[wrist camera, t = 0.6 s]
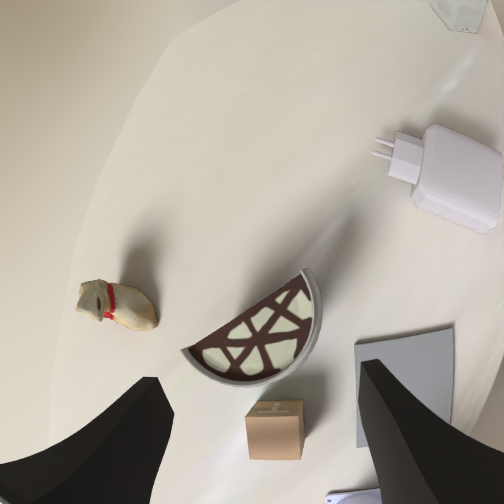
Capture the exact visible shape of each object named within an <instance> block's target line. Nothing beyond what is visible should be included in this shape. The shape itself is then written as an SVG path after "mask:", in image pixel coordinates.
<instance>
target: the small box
mask: <svg viewBox="0 0 504 504" xmlns="http://www.w3.org/2000/svg"><path fill="white" fill-rule="evenodd" d="M487 1H488V0H430V2H429V5H430V6H431V7H432V9H433V10H434V11H435V12H436V13H437V14H438V16H439V17H440V18H441V19H442V21H443V22H444V23H445V24H446V26H447V27H448V28H449V30H454V31H463V32H470V33H477V31H478V28H479V25H480V22H481V19H482V17H483V14H484V11H485V8H486V5H487Z"/></svg>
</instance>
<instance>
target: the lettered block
mask: <svg viewBox="0 0 504 504" xmlns="http://www.w3.org/2000/svg"><path fill="white" fill-rule="evenodd" d="M245 421H246V430H247V439H248V447H249V456H250V459H254V460H301V456H302V451H303V447H304V442H305V426H304V408H303V399H300V400H278V401H257V402H256V403H255V404H254V406H253V407H252V408H251V410H250V411H249V412H248V414H247V415H246V416H245Z"/></svg>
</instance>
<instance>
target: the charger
mask: <svg viewBox="0 0 504 504" xmlns="http://www.w3.org/2000/svg"><path fill="white" fill-rule="evenodd" d="M375 141H376V142H378V143H381V144H385V145H388V146H391V147H393V149H392V154H391V156H390V155H387V154H384V153H380V152H377V151H373V153H372V154H373V155H375V156H378V157H381V158H384V159H387V160H390V163H389V169H388V175H389V176H392V177H395V178H398V179H401V180H404V181H406V182H409V183H412V184H413V185H412V190H411V198H412V200H413V202H414V204H415V206H416V207H417V208H420V209H422V210H425V211H428V212H430V213H433V214H435V215H438V216H440V217H443V218H445V219H448V220H450V221H453V222H455V223H458V224H460V225H462V226H465V227H467V228H469V229H472V230H474V231H476V232H479V233H481V234H483V233H485V232H487V231H489V230H491V229H493V228H495V227H496V225H497V222H498V219H499V214H500V204H501V191H502V165H503V162H502V154H501V153H500V152H498V151H496V150H494V149H492V148H490V147H488V146H486V145H484V144H482V143H480V142H478V141H476V140H474V139H471V138H469V137H467V136H465V135H463V134H460V133H458V132H456V131H453V130H451V129H448V128H446V127H444V126H441V125H438V124H434V125H432V126H430V127H428V128H427V129H426V131H425V133H424V135H423V137H422V139H418V138H415V137H412V136H410V135H407V134H404V133H401V132H398V131H397V132H396V136H395V140H394V143H393V142H390V141H387V140H383V139H380V138H376V140H375Z"/></svg>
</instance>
